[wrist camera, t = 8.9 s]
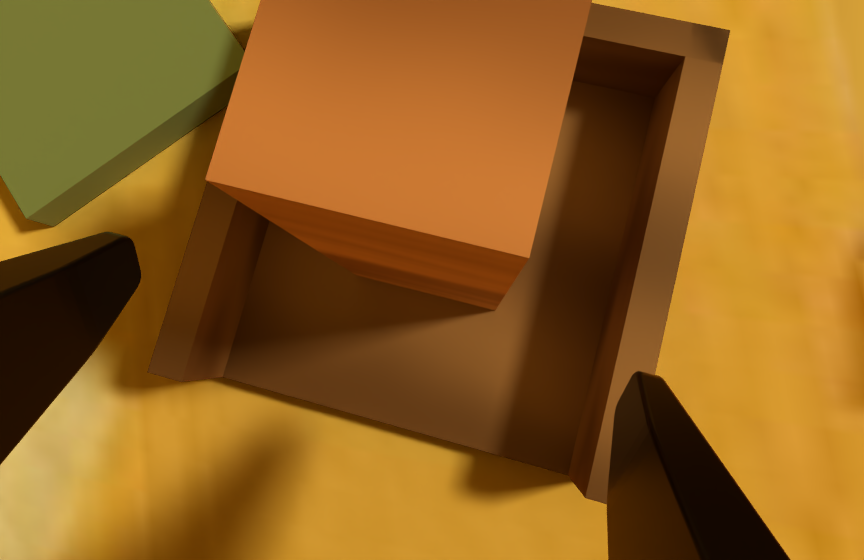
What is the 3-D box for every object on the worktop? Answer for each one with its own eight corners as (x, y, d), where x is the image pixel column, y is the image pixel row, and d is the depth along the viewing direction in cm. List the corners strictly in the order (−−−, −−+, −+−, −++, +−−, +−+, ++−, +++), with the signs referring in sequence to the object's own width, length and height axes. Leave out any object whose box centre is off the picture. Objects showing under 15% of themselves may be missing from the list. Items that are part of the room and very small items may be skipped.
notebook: (264, 79, 19) (251, 61, 18) (53, 226, 19) (26, 218, 18) (98, -158, 21) (75, -189, 20) (-97, -24, 21) (-132, -46, 20)
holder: (595, 478, 17) (625, 509, 14) (205, 367, 18) (147, 372, 15) (683, 87, 18) (730, 30, 15) (314, 10, 19) (282, -59, 16)
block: (495, 310, 17) (529, 258, 7) (356, 275, 17) (204, 179, 7) (529, 173, 17) (606, -58, 7) (393, 142, 18) (296, -114, 8)
